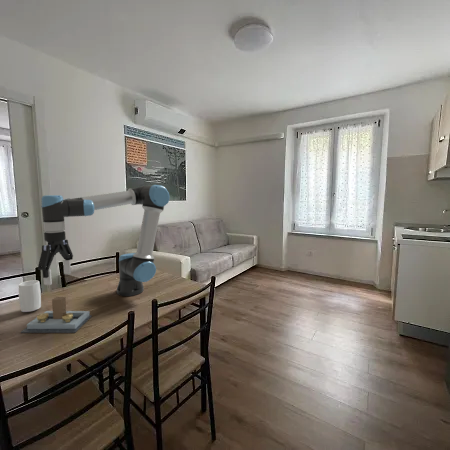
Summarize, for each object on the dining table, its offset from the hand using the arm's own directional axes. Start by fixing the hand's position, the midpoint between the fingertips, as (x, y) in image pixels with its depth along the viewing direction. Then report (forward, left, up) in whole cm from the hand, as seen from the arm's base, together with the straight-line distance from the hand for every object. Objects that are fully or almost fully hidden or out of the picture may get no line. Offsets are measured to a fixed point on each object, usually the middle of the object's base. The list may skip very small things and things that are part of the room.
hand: (58, 278), depth 108 cm
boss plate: (0, +1, -21) cm, 20 cm away
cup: (+21, -12, -21) cm, 32 cm away
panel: (0, 0, -20) cm, 20 cm away
